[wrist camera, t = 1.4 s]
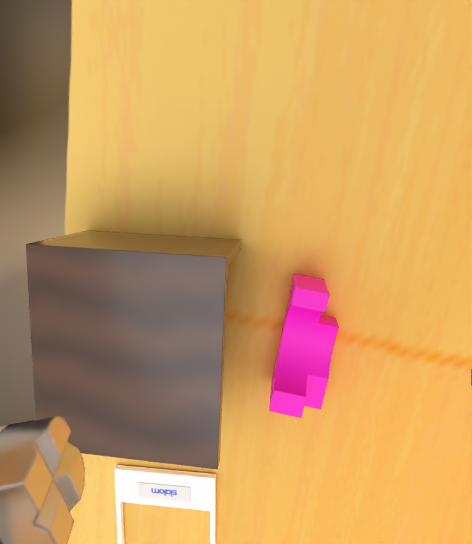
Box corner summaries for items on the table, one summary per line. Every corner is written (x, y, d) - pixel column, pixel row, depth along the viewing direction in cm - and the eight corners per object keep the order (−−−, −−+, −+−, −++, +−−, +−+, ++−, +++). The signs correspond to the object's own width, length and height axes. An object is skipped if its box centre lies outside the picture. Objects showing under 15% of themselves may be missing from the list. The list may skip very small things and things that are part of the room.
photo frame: (214, 479, 59) (214, 587, 62) (216, 474, 60) (215, 580, 63) (113, 469, 60) (118, 575, 64) (116, 464, 62) (121, 568, 65)
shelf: (87, 230, 55) (25, 244, 42) (241, 239, 53) (226, 257, 40) (91, 390, 60) (36, 448, 47) (233, 405, 58) (217, 469, 45)
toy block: (318, 391, 56) (322, 422, 49) (271, 381, 56) (269, 410, 49) (343, 283, 53) (352, 298, 45) (294, 273, 53) (295, 287, 46)
